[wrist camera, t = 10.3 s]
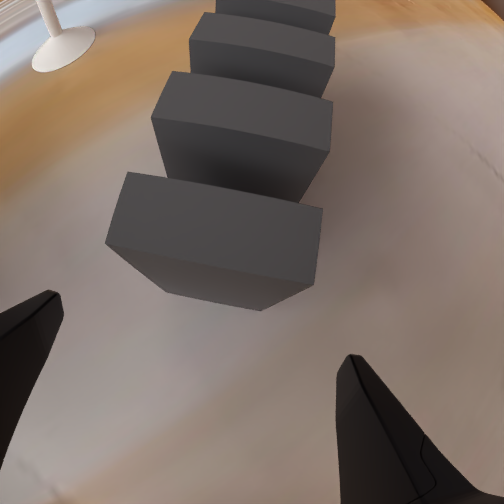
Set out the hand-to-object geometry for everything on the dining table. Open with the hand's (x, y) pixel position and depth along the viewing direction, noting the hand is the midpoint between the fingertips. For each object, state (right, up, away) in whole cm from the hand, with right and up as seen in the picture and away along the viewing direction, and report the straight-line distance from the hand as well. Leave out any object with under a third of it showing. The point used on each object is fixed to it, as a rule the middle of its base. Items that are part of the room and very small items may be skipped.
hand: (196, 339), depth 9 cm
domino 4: (0, +1, +9) cm, 9 cm away
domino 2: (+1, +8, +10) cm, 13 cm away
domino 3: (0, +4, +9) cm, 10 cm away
